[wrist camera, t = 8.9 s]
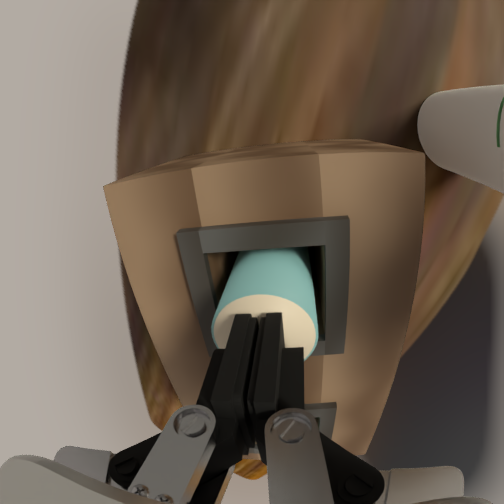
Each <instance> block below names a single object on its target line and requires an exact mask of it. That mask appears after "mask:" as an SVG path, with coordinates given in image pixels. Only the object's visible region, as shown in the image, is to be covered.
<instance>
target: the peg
mask: <svg viewBox="0 0 504 504" xmlns="http://www.w3.org/2000/svg"><path fill="white" fill-rule="evenodd" d="M277 312H282V318H283V330H284V342H285V348H294V347H304V361H305V360H306V359H307V358H308V357H309V356H310V355H311V354H312V352H313V351H314V349H315V347H316V345H317V341H318V324H317V315H316V305H315V297H314V288H313V280H312V272H311V264H310V257H309V250H308V246H303V247H288V248H274V249H259V250H245V251H239V253H238V256H237V258H236V261H235V264H234V266H233V269H232V271H231V274H230V276H229V279H228V282H227V284H226V287H225V289H224V292H223V295H222V297H221V300H220V302H219V305H218V308H217V310H216V313H215V315H214V318H213V321H212V326H211V332H212V338H213V340H214V343H215V345H216V347H217V348H218V349H225V348H226V344H227V341H228V337H229V334H230V331H231V327H232V324H233V320H234V317H235V314H251V315H252V317H257V320H258V327H259V325H260V319H261V317H266V313H277Z"/></svg>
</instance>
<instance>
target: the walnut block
mask: <svg viewBox="0 0 504 504" xmlns="http://www.w3.org/2000/svg"><path fill="white" fill-rule="evenodd" d="M103 188H104V192H105V197H106V201H107V205H108V209H109V213H110V217H111V221H112V225H113V228H114V232H115V235H116V239H117V242H118V246H119V249H120V253H121V256H122V259H123V262H124V265H125V268H126V272H127V275H128V278H129V281H130V283H131V286H132V289H133V292H134V295H135V298H136V300H137V303H138V306H139V309H140V311H141V314H142V316H143V319H144V322H145V324H146V327H147V329H148V332H149V334H150V336H151V339H152V341H153V344H154V346H155V348H156V351H157V353H158V355H159V358H160V360H161V362H162V364H163V366H164V369H165V371H166V373H167V375H168V377H169V379H170V381H171V383H172V386H173V388H174V390H175V392H176V394H177V396H178V398H179V400H180V402H181V404H182V405H183V407H184V406H187V405H196V402H197V399H198V396H199V393H200V390H201V387H202V384H203V381H204V378H205V375H206V372H207V369H208V366H209V363H210V360H211V357H212V354H213V352H214V350H215V349H218V348H217V347H216V345H215V343H214V340H213V338H212V332H211V326H212V321H213V318H214V315H215V313H216V310H217V308H218V305H219V302H220V300H221V297H222V295H223V292H224V289H225V287H226V284H227V282H228V279H229V276H230V274H231V271H232V269H233V266H234V264H235V261H236V258H237V256H238V253H239V251H245V250H259V249H274V248H288V247H303V246H308V250H309V257H310V264H311V272H312V280H313V288H314V297H315V305H316V315H317V324H318V341H317V345H316V347H315V349H314V351H313V352H312V354H311V355H310V356H309V357H308V358H307V359H306V360H305V361H304V410H305V411H307V412H309V413H311V414H312V415H313V416H314V417H315V419H316V422H317V424H318V429H319V431H320V432H321V433H322V434H324V435H325V436H327V437H328V438H330V439H331V440H332V441H334V442H335V443H337V444H338V445H340V446H341V447H343V448H344V449H346V450H347V451H349V452H350V453H352V454H354V455H362V454H365V453H366V451H367V449H368V446H369V444H370V442H371V439H372V437H373V434H374V432H375V429H376V427H377V425H378V422H379V420H380V417H381V414H382V412H383V409H384V406H385V403H386V400H387V398H388V395H389V392H390V388H391V386H392V383H393V380H394V376H395V373H396V370H397V366H398V363H399V359H400V356H401V352H402V348H403V344H404V340H405V336H406V332H407V328H408V323H409V319H410V314H411V309H412V304H413V299H414V293H415V288H416V282H417V275H418V268H419V261H420V253H421V244H422V234H423V221H424V205H425V153H423V152H419V151H415V150H411V149H406V148H402V147H397V146H393V145H388V144H383V143H378V142H373V141H368V140H362V139H336V140H316V141H300V142H288V143H277V144H267V145H257V146H249V147H241V148H233V149H226V150H219V151H213V152H206V153H200V154H194V155H189V156H185V157H182V158H179V159H175V160H172V161H169V162H166V163H163V164H160V165H158V166H155V167H152V168H149V169H146V170H144V171H141V172H138V173H135V174H133V175H130V176H127V177H125V178H122V179H120V180H117V181H115V182H112V183H110V184H108V185H105V186H103ZM242 459H258V460H261V458H260V454H259V450H258V447H257V443H255V447H254V448H249V454H248V455H243V457H242Z"/></svg>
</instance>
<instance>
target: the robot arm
mask: <svg viewBox="0 0 504 504" xmlns="http://www.w3.org/2000/svg"><path fill="white" fill-rule="evenodd" d="M255 443H257V447H258V450H259V454H260V458H261V461H262V462H263V463H264V464H265V465H267V473H268V487H269V501H270V504H492V503H491V502H490V501H488V500H486V499H482V498H476V497H463V496H464V478H463V474H462V473H461V471H460V470H459V469H457V468H456V467H453V466H440V467H428V468H406V469H392V470H391V471H378V470H377V469H376V468H374V467H373V466H371V465H369V464H368V463H366V462H364V461H363V460H361V459H360V458H358V457H357V456H355V455H354V454H352V453H350V452H349V451H347V450H346V449H344V448H343V447H341V446H340V445H338V444H337V443H335V442H334V441H332V440H331V439H330V438H328V437H327V436H325V435H324V434H322V433H321V432H320V431H319V429H318V424H317V422H316V419H315V417H314V416H313V415H312V414H311V413H309V412H307V411H305V410H304V347H294V348H285V342H284V330H283V318H282V312H277V313H266V317H261V319H260V325H259V327H258V320H257V317H252V315H251V314H235V317H234V320H233V324H232V327H231V331H230V334H229V337H228V341H227V344H226V348H225V349H215V350H214V352H213V354H212V357H211V360H210V363H209V366H208V369H207V372H206V375H205V378H204V381H203V384H202V387H201V390H200V393H199V396H198V399H197V402H196V405H187V406H184V407H182V408H180V409H178V410H177V411H175V412H174V413H173V415H172V416H171V417H170V419H169V421H168V422H167V424H166V426H165V428H164V429H163V431H162V432H161V433H159V434H157V435H155V436H153V437H151V438H149V439H147V440H145V441H142V442H140V443H138V444H136V445H134V446H131V447H129V448H127V449H125V450H123V451H120V452H119V453H117V454H113V453H112V452H111V451H102V450H94V449H86V448H80V447H73V446H65V447H63V448H61V449H60V450H59V451H58V452H57V454H56V456H55V459H54V461H52V460H49V459H47V458H43V457H39V456H33V455H19V456H14V457H12V458H10V459H8V460H7V461H6V462H5V463H4V464H3V465H2V466H1V468H0V504H221V501H222V499H223V496H224V494H225V491H226V489H227V486H228V483H229V481H230V479H231V476H232V474H233V471H234V468H235V464H236V463H238V462H239V461H241V460H242V457H243V455H248V454H249V448H254V447H255Z"/></svg>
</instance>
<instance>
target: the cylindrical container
mask: <svg viewBox="0 0 504 504" xmlns="http://www.w3.org/2000/svg"><path fill="white" fill-rule="evenodd" d="M417 128H418V135H419V140H420V142H421V145H422V148H423V149H424V151H425V153H426V155H427V156H428V157H429V158H430V160H431V161H433V162H434V163H435V164H436V165H437V166H439V167H441V168H443V169H446V170H448V171H451V172H454V173H456V174H459V175H462V176H464V177H467V178H469V179H472V180H474V181H477V182H479V183H481V184H484V185H486V186H488V187H491V188H493V189H495V190H497V191H500V192H502V193H504V85H492V86H481V87H471V88H463V89H455V90H448V91H441V92H437V93H434V94H432V95H431V96H429V97H428V98H427V99H426V100H425V101H424V102H423V104H422V106H421V108H420V111H419V115H418V122H417Z"/></svg>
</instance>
